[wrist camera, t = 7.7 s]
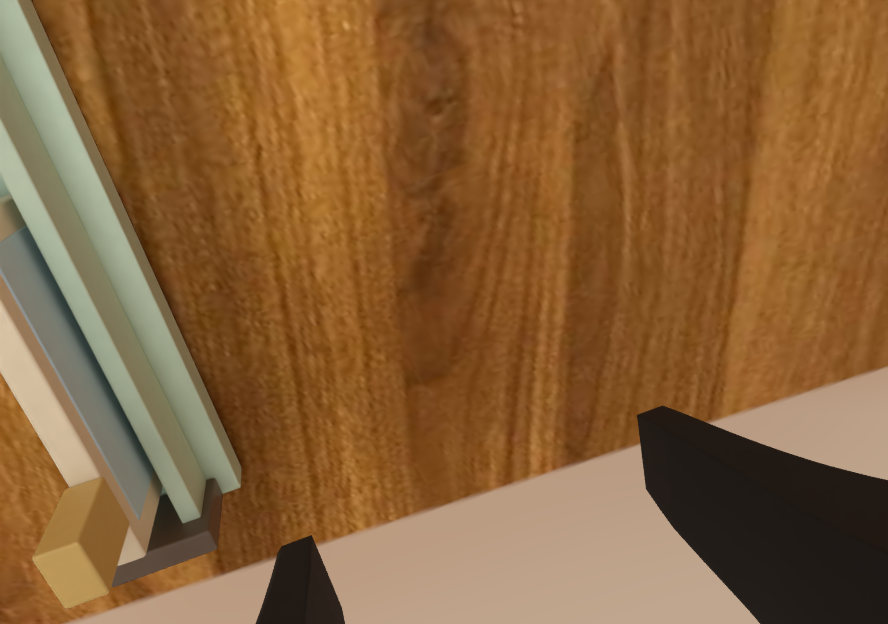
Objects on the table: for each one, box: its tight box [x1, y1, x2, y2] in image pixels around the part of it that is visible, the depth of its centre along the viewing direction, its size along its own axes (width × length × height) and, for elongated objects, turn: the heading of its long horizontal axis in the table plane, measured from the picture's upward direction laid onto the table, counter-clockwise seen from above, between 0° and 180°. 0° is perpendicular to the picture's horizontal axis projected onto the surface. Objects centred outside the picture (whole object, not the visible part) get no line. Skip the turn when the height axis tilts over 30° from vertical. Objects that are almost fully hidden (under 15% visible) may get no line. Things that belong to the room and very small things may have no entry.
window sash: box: [0, 194, 163, 609], centre depth 16 cm, size 10×1×6 cm, turn 13°
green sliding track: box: [0, 0, 242, 587], centre depth 16 cm, size 21×4×4 cm, turn 13°
